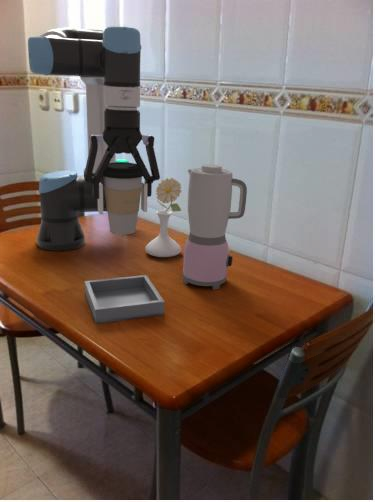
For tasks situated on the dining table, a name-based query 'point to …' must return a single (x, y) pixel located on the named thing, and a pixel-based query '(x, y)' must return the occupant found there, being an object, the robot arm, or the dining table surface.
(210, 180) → the blender
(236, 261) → the dining table surface
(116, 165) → the coffee cup
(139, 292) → the tray
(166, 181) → the flower in vase
